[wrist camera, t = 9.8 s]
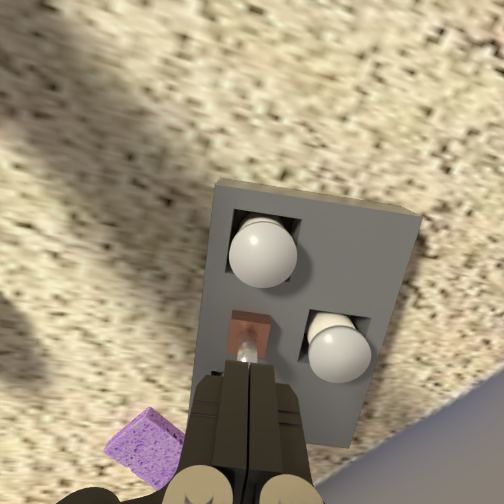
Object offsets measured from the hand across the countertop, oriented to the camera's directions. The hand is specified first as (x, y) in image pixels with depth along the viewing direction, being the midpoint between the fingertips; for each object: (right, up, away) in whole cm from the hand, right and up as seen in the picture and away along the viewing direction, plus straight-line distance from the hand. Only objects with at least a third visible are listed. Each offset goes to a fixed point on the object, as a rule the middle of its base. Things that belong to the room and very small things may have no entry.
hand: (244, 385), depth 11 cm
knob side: (+7, -2, +20) cm, 22 cm away
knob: (+1, +6, +18) cm, 19 cm away
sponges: (-9, -18, +27) cm, 34 cm away
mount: (+3, -1, +21) cm, 21 cm away
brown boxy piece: (0, -2, +17) cm, 17 cm away
